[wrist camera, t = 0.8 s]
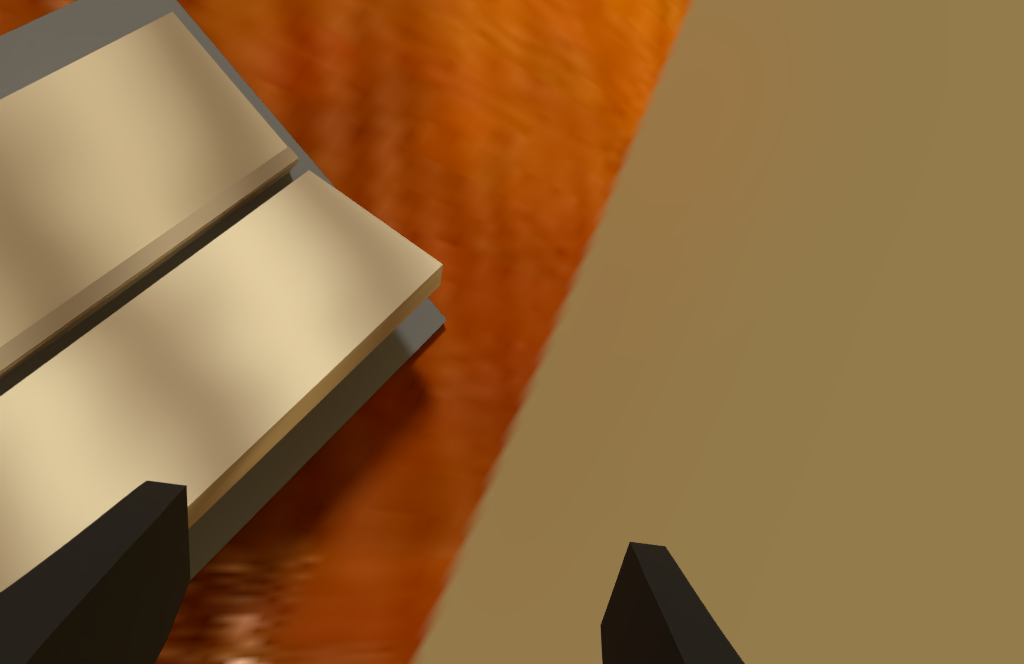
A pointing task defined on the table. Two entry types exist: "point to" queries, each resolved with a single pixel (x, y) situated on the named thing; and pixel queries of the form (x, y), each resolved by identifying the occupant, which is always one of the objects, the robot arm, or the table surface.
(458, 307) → the table surface
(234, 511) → the underlay mat
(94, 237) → the fixed plank
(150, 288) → the board
